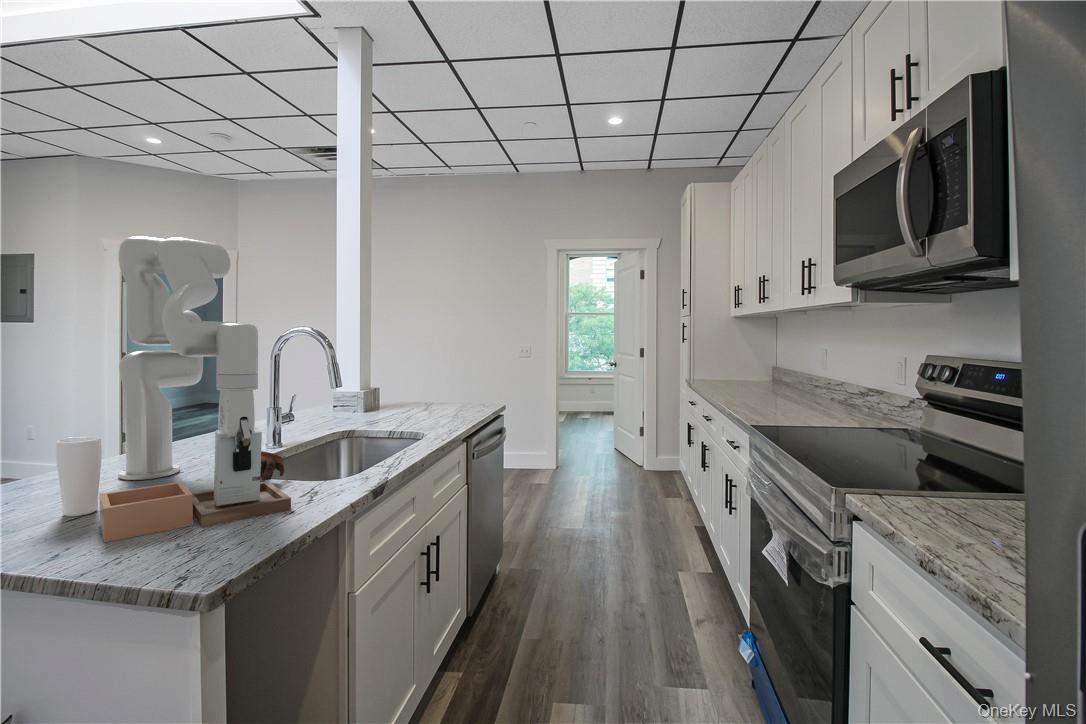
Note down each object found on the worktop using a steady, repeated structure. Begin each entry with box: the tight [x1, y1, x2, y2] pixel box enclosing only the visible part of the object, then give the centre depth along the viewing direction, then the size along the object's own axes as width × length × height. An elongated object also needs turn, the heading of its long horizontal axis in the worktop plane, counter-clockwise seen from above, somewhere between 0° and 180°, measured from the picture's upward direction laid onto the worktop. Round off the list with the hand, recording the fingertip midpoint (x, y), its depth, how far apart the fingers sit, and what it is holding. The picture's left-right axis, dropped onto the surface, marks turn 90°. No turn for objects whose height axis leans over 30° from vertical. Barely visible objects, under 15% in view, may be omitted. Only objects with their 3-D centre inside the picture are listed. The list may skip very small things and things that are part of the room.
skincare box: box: [213, 427, 263, 506], centre depth 109 cm, size 8×6×15 cm
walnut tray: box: [191, 480, 292, 528], centre depth 109 cm, size 16×16×2 cm
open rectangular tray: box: [99, 481, 194, 543], centre depth 99 cm, size 11×13×6 cm
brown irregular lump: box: [260, 450, 285, 482], centre depth 130 cm, size 12×10×8 cm
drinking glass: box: [55, 435, 103, 517], centre depth 104 cm, size 7×7×15 cm
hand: (237, 466), depth 109 cm, fingers closed on skincare box, 6 cm apart
